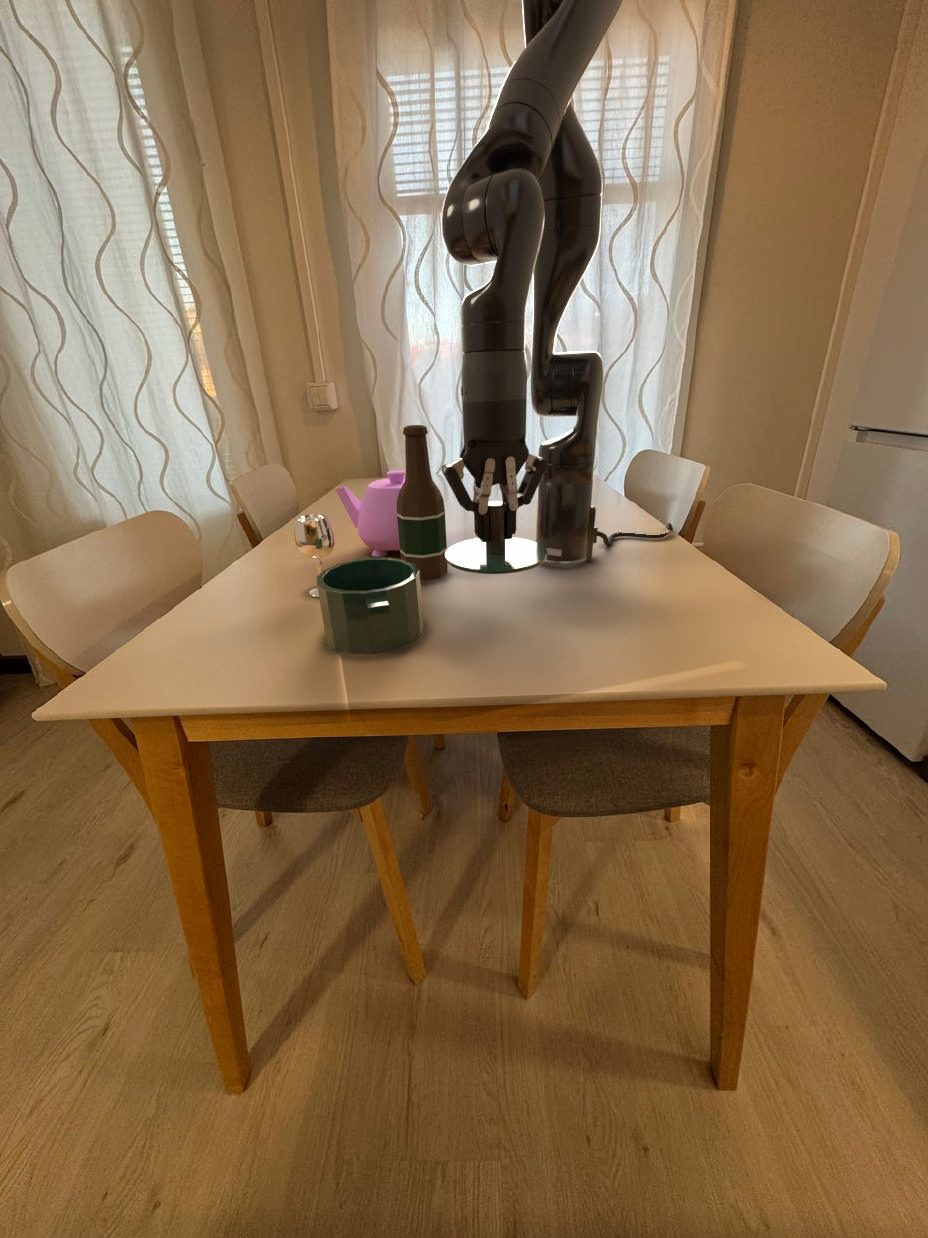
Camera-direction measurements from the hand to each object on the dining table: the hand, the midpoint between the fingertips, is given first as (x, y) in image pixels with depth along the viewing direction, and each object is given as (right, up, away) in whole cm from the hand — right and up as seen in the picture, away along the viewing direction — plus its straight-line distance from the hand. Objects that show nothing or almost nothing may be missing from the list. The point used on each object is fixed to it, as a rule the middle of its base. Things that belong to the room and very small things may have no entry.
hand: (495, 538), depth 66 cm
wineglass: (-27, -6, +15) cm, 31 cm away
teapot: (-18, +4, +36) cm, 40 cm away
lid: (0, -2, +1) cm, 2 cm away
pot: (-16, -13, 0) cm, 20 cm away
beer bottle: (-11, -3, +20) cm, 23 cm away
